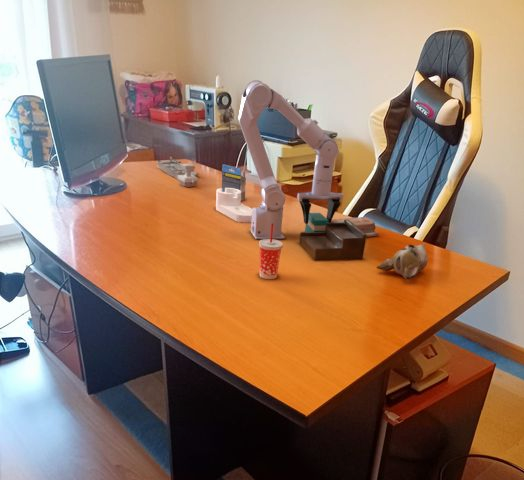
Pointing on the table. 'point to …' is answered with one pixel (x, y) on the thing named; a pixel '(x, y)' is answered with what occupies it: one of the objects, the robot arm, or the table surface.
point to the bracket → (232, 205)
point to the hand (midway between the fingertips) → (317, 222)
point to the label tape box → (233, 180)
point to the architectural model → (172, 167)
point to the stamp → (187, 176)
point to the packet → (316, 223)
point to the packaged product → (361, 225)
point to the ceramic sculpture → (407, 261)
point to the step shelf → (335, 242)
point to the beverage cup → (269, 257)
